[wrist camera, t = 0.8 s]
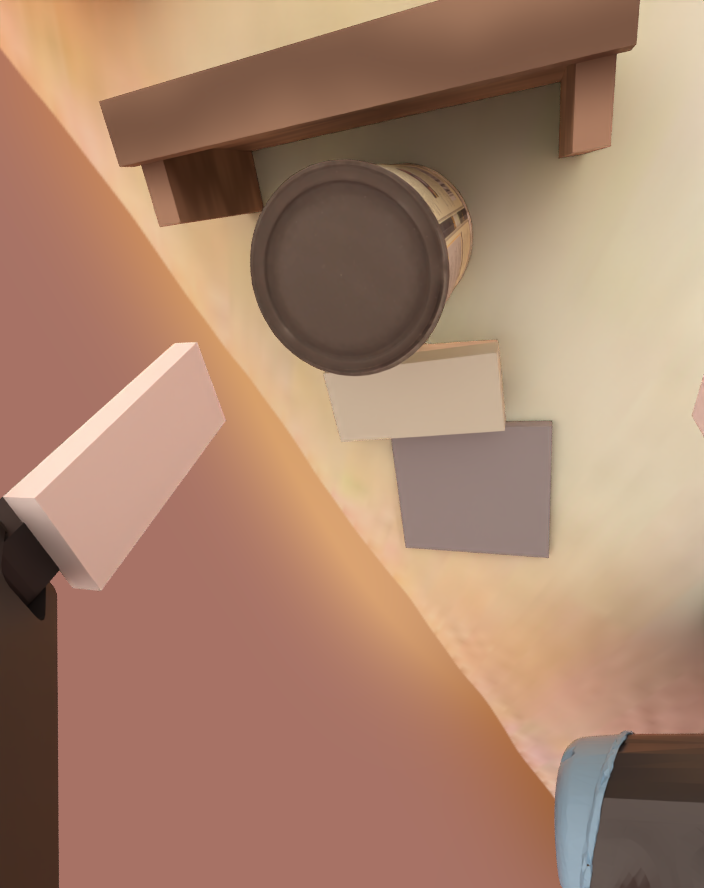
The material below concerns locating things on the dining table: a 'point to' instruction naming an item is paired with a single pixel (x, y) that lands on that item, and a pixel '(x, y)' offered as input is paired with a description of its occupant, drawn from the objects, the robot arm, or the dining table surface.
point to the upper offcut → (423, 396)
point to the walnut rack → (366, 91)
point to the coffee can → (359, 262)
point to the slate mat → (477, 490)
